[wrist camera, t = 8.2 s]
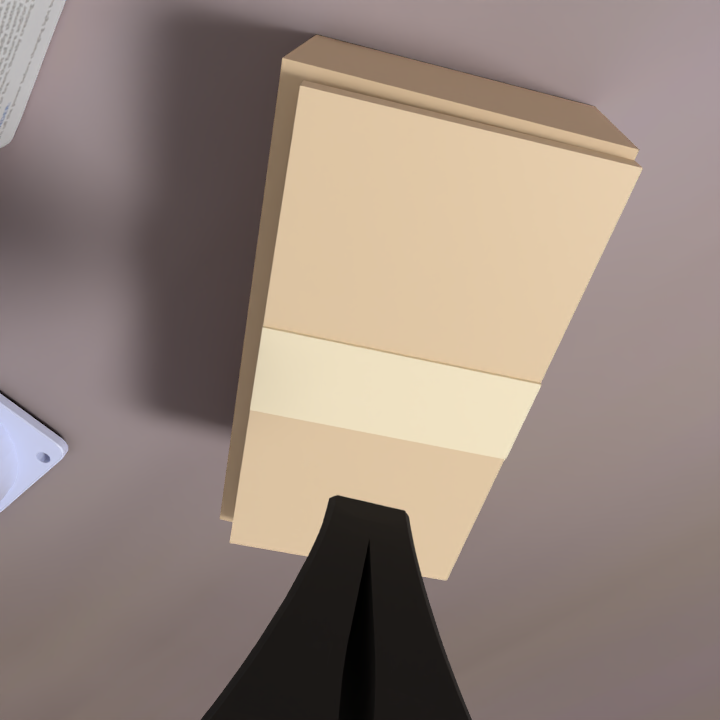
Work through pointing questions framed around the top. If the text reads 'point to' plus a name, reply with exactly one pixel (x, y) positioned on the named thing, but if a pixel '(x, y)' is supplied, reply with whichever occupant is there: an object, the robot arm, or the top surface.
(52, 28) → the light bulb box
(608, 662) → the top surface
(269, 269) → the carton
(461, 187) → the lid
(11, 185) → the top surface
